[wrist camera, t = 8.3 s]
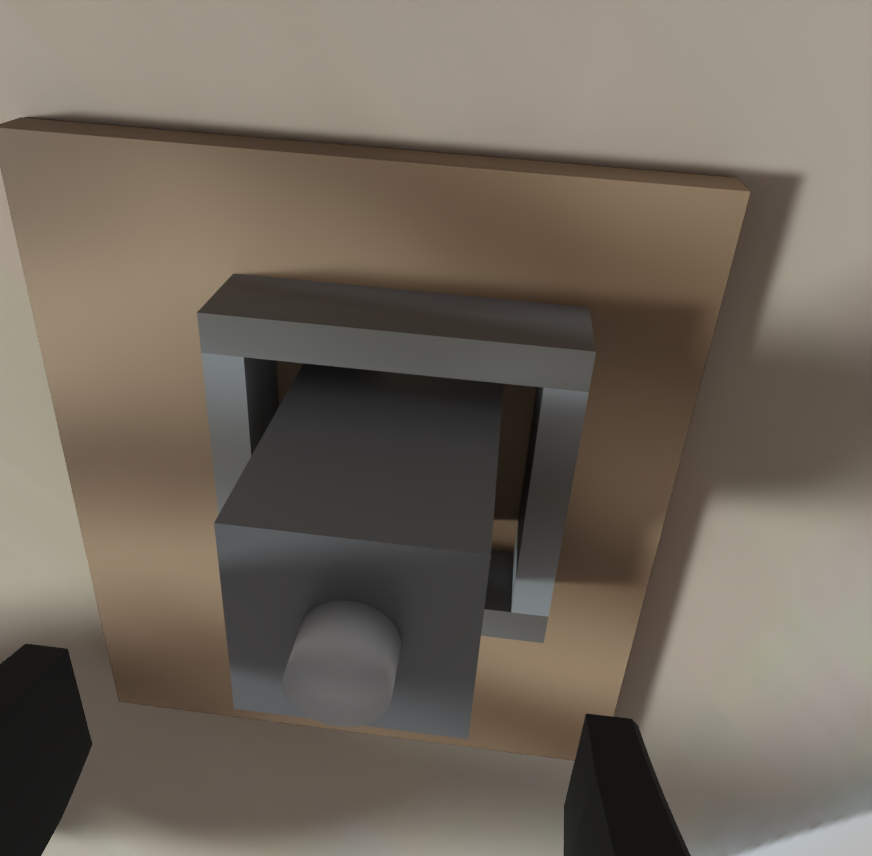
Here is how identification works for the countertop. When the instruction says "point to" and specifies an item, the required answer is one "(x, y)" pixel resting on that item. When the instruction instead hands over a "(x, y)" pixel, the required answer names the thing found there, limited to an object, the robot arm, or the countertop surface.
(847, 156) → the countertop surface
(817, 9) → the countertop surface
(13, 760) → the robot arm
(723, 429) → the countertop surface
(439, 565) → the plug
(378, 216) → the charging dock
